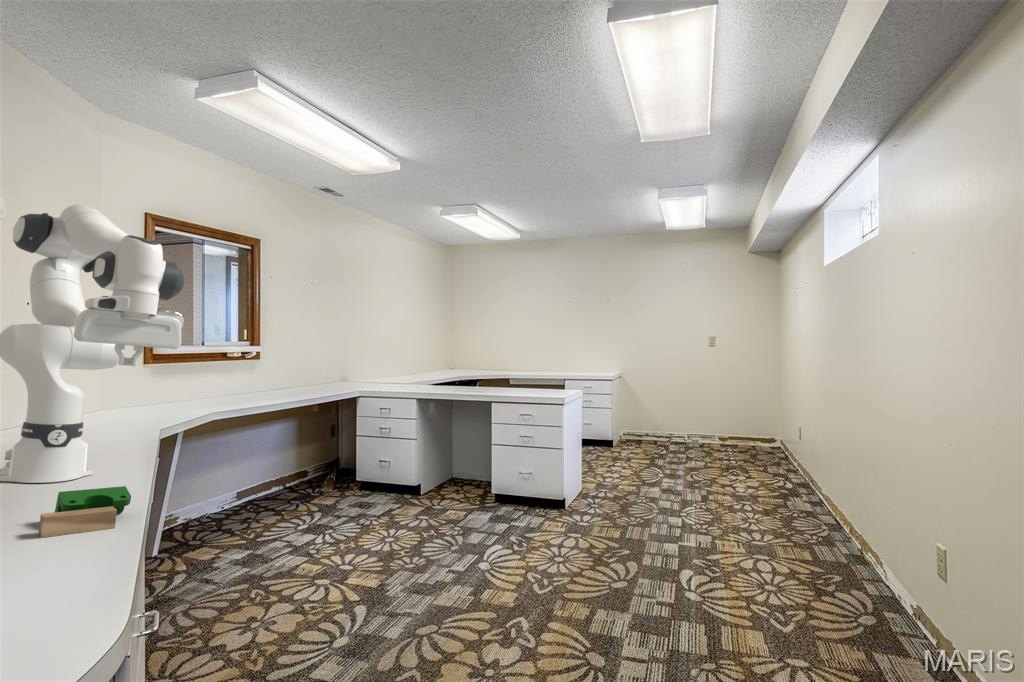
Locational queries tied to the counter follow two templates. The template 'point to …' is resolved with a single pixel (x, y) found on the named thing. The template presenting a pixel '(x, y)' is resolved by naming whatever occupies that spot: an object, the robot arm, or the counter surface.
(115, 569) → the counter surface
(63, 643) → the counter surface
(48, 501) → the counter surface
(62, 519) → the stop rail
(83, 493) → the clamp
